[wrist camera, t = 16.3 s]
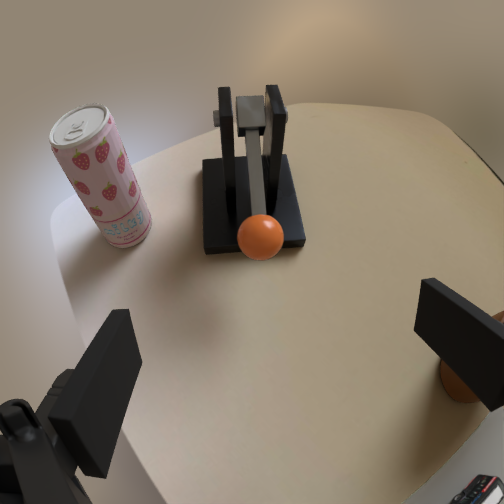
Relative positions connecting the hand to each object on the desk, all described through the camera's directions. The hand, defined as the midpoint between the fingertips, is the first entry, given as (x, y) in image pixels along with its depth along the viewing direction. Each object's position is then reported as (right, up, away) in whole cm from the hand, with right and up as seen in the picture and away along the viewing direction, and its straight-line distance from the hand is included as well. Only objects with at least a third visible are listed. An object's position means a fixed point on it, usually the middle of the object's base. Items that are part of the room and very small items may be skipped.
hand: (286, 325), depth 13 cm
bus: (+19, -24, +5) cm, 31 cm away
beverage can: (-15, +6, +21) cm, 26 cm away
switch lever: (-1, +9, +13) cm, 16 cm away
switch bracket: (-2, +8, +22) cm, 24 cm away
